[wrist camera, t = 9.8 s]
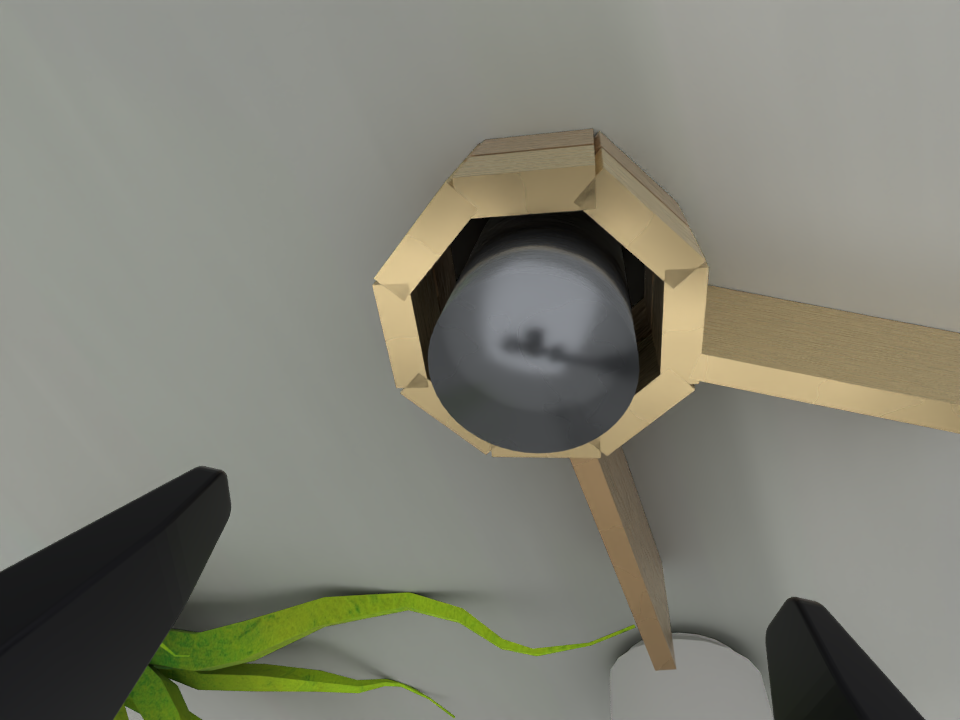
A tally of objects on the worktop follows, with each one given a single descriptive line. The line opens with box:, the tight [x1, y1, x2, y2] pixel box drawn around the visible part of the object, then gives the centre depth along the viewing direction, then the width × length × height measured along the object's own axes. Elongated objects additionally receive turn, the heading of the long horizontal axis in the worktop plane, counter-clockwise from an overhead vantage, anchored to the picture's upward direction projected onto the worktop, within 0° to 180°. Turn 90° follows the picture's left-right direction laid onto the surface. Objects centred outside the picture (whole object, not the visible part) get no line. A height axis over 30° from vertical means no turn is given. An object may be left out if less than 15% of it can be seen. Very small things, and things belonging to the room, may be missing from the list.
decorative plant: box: [113, 592, 635, 720], centre depth 26 cm, size 18×30×15 cm, turn 77°
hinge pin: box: [428, 210, 639, 453], centre depth 16 cm, size 5×5×7 cm
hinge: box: [372, 129, 960, 671], centre depth 18 cm, size 18×16×5 cm
